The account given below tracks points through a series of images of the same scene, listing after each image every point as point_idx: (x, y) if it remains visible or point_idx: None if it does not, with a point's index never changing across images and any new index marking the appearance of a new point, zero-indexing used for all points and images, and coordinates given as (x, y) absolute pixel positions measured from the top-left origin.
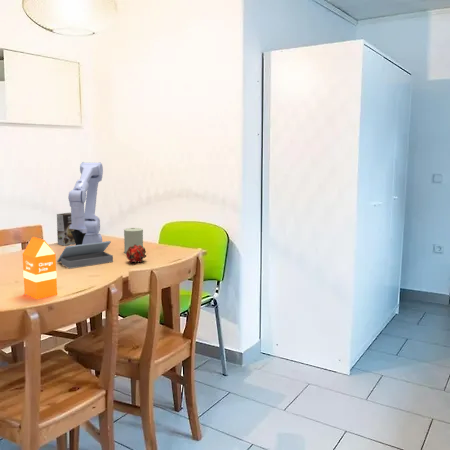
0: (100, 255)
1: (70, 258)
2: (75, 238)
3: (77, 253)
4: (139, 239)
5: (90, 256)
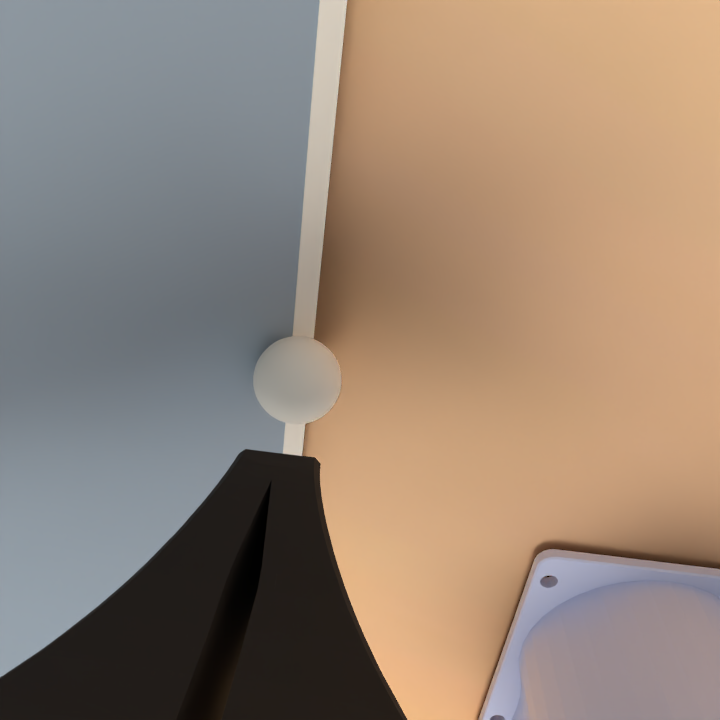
0: None
1: None
2: (178, 609)
3: (4, 258)
4: None
5: None
